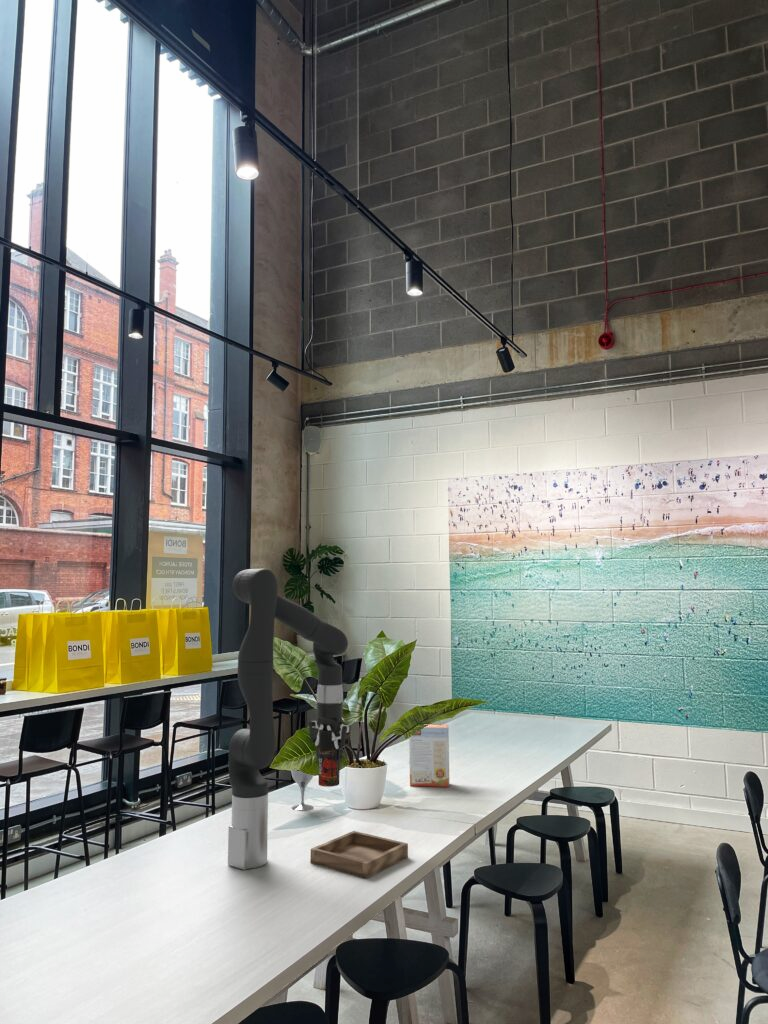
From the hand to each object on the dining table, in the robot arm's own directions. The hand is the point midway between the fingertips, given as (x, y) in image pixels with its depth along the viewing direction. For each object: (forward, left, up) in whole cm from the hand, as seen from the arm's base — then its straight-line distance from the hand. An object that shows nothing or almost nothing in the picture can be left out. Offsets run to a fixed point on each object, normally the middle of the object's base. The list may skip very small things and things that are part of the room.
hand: (329, 760), depth 215 cm
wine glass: (+18, +26, -22) cm, 39 cm away
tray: (-9, -18, -21) cm, 29 cm away
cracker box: (+66, +8, -22) cm, 70 cm away
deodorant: (0, 0, -7) cm, 7 cm away
